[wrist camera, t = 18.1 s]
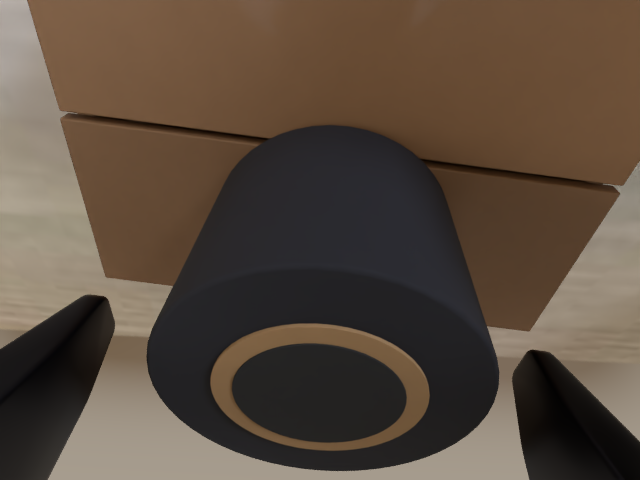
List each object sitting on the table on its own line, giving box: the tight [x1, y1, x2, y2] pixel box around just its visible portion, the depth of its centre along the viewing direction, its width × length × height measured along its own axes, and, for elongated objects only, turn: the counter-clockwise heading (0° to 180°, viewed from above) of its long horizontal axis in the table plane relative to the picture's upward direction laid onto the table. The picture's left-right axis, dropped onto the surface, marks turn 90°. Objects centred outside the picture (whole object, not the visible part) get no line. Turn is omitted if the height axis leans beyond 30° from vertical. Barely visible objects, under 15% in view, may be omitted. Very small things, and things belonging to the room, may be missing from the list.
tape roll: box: [147, 125, 499, 471], centre depth 10 cm, size 6×6×5 cm
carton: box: [61, 113, 620, 331], centre depth 13 cm, size 14×11×7 cm
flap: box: [27, 0, 640, 186], centre depth 9 cm, size 14×5×1 cm, turn 84°
